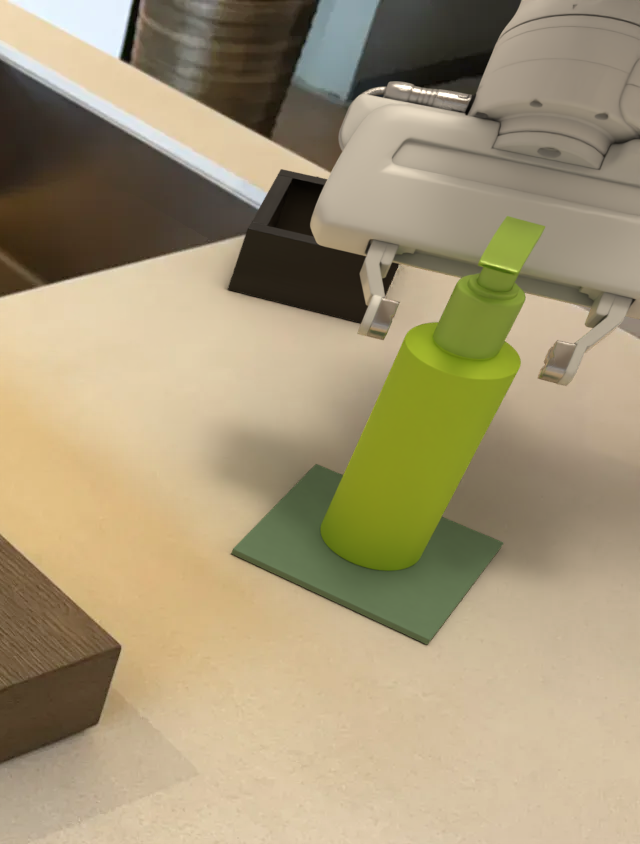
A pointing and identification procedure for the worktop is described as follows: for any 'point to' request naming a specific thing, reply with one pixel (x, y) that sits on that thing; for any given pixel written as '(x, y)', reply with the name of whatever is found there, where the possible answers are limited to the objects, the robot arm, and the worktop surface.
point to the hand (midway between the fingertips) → (461, 356)
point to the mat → (359, 586)
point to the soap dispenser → (432, 413)
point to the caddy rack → (299, 255)
